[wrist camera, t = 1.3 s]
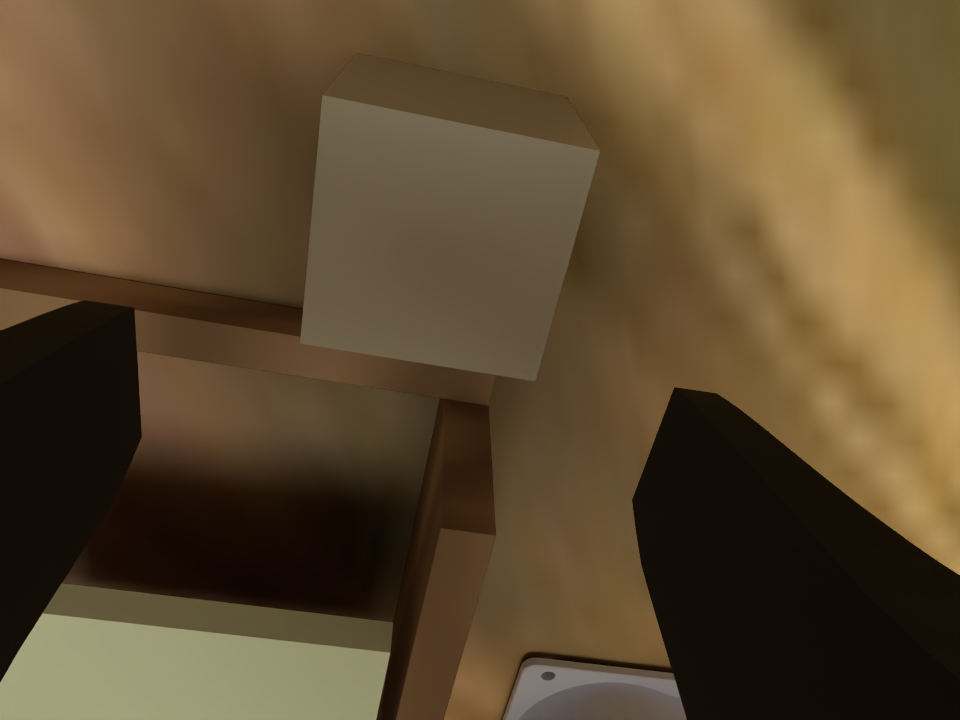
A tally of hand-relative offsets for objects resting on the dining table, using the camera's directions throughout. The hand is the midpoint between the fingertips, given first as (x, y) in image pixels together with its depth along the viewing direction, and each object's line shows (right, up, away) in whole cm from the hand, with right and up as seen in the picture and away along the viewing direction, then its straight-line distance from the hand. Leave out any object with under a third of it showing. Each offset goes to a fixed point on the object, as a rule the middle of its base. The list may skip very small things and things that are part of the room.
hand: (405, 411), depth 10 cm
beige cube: (0, +4, +6) cm, 8 cm away
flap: (-7, -8, +10) cm, 14 cm away
